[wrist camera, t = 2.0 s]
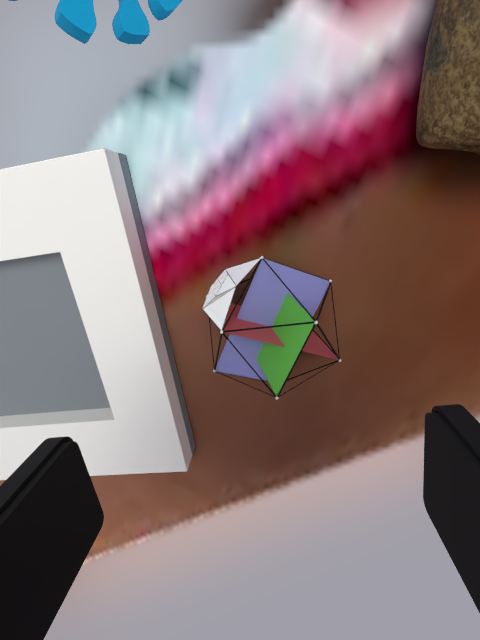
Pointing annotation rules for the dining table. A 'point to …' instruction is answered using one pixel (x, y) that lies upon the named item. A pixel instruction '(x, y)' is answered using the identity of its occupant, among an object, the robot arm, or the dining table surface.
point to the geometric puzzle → (267, 321)
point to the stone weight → (451, 79)
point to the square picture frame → (84, 322)
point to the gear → (127, 23)
